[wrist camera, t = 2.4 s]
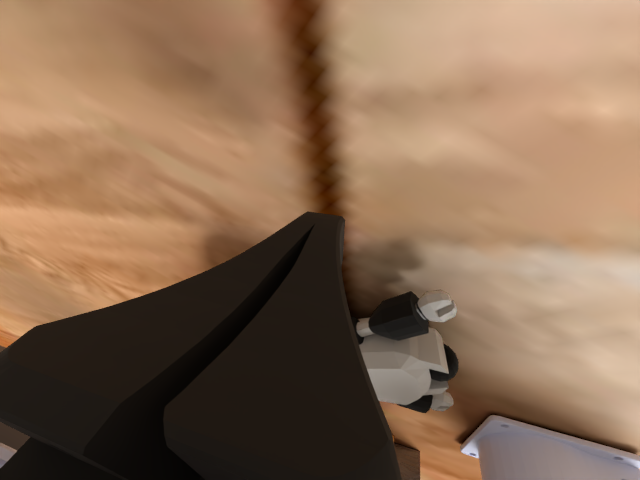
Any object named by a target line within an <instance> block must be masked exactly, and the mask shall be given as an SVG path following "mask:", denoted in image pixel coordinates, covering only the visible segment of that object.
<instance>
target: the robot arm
mask: <svg viewBox="0 0 640 480" xmlns="http://www.w3.org/2000/svg"><path fill="white" fill-rule="evenodd" d="M344 227H345V220H344V218H343V217H342V216H335V215H328V214H321V213H314V212H306V213H304V214H303V215H301V216H300V217H298V218H297V219H295V220H294V221H292V222H291V223H289V224H288V225H286V226H285V227H284V228H282V229H280V230H279V231H277V232H276V233H274V234H273V235H271V236H270V237H268V238H267V239H265V240H263V241H262V242H260V243H258V244H257V245H255V246H253V247H252V248H250V249H248V250H246V251H245V252H243V253H241V254H240V255H238V256H236V257H234V258H232V259H230V260H228V261H226V262H224V263H222V264H220V265H218V266H216V267H214V268H212V269H210V270H208V271H205V272H203V273H201V274H198V275H196V276H193V277H191V278H188V279H186V280H183V281H181V282H179V283H176V284H174V285H171V286H169V287H166V288H163V289H161V290H158V291H155V292H152V293H149V294H146V295H144V296H141V297H138V298H134V299H131V300H128V301H125V302H122V303H119V304H116V305H112V306H109V307H106V308H102V309H99V310H95V311H91V312H88V313H84V314H80V315H77V316H73V317H69V318H65V319H62V320H58V321H54V322H51V323H47V324H42V325H38V326H36V327H34V328H32V329H31V330H30V331H28V332H27V333H25V334H24V335H23V336H22V337H20V338H19V339H18V340H16V341H15V342H14V343H12V344H11V345H10V346H8V347H7V348H6V349H4V350H3V351H2V352H0V422H2V423H4V424H6V425H8V426H10V427H12V428H14V429H16V430H18V431H20V432H22V433H24V434H26V435H28V436H30V438H29V439H28V440H27V441H26V443H25V444H24V445H23V446H22V447H21V448H20V449H19V450H18V451H16V450H14V449H12V448H10V447H8V446H6V445H4V444H2V443H0V480H402V478H401V473H400V469H399V465H398V460H397V456H396V452H395V447H394V442H393V437H392V433H391V430H390V428H389V425H388V423H387V420H386V418H385V416H384V413H383V411H382V408H381V406H380V403H379V400H378V398H377V395H376V392H375V390H374V387H373V385H372V382H371V379H370V376H369V373H368V371H367V368H366V365H365V362H364V359H363V356H362V353H361V350H360V347H359V343H358V340H357V337H356V333H355V330H354V327H353V323H352V320H351V316H350V312H349V308H348V304H347V299H346V294H345V290H344V284H343V278H342V270H341V266H342V261H343V245H344ZM460 450H461V452H462V453H464V454H467V455H470V456H473V457H476V458H479V462H480V468H481V475H482V480H640V470H639V469H638V468H640V456H639V455H637V454H633V453H629V452H626V451H622V450H619V449H615V448H612V447H608V446H604V445H601V444H597V443H594V442H590V441H587V440H583V439H580V438H576V437H572V436H569V435H565V434H562V433H558V432H555V431H551V430H547V429H544V428H540V427H537V426H533V425H530V424H526V423H522V422H519V421H515V420H512V419H508V418H505V417H501V416H497V415H490V416H489V417H488V418H487V419H486V420H485V421H484V422H483V423H482V424H481V425H480V426H479V427H478V428H477V429H476V430H475V431H474V432H473V434H472V435H471V436H470V437H469V438H468V439H467V440H466V441H465V442H464V443H463V444H462V445H461V446H460Z"/></svg>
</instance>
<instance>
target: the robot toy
mask: <svg viewBox="0 0 640 480" xmlns="http://www.w3.org/2000/svg"><path fill="white" fill-rule="evenodd" d="M456 313H457V306H456V304H455V302H454V301H453V300H452V301H451V297H450V295H449V294H448V293H446V292H444V291H442V290H436V291H429V292H426V293H425V294H424V295H423V296H422V297H421V298H420V299H419V298H418V297H417V296H416V295H415V294H414V293H413V292H411V291H410V292H408V293H405V294H402V295H399V296H396V297H393V298H390V299H388V300H385V301H383V302H382V303H381V304H380V305H379V307H378V308H377V309H376V310H375V311H374V313H373V314H372V316H371V317H369V318H361V319H357V318H355V317H351V320H352V323H353V327H354V330H355V333H356V337H357V340H358V343H359V347H360V350H361V353H362V356H363V359H364V362H365V365H366V368H367V371H368V373H369V376H370V379H371V382H372V385H373V387H374V390H375V392H376V395H377V398H378V400H379V401H383V402H389V403H396V404H397V405H399V406H402V407H405V408H409V409H412V410H415V411H418V412H422V413H426V412H427V411H428V410H429V409H430V408H431V409H433V410H436V411H445V410H447V409H448V408H449V406H452V405H453V398H452V396H451V394H450V393H448V392H446V391H445V390H447V389H448V388H449V387H448V380H450V379H451V378H453V377H454V376H455V375H456V373H457V371H458V359H457V357H456V354H455V353H454V351H453V350H452V349H451V348H450V347H449V346H447V345H445V344H443V339H442V336H441V335H440V334H439V333H438V332H437V331H436V329H434V328H430V327H429V322H428V321H435V322H445V321H447V320H449V319H451V318H453V317H455V316H456Z"/></svg>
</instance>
